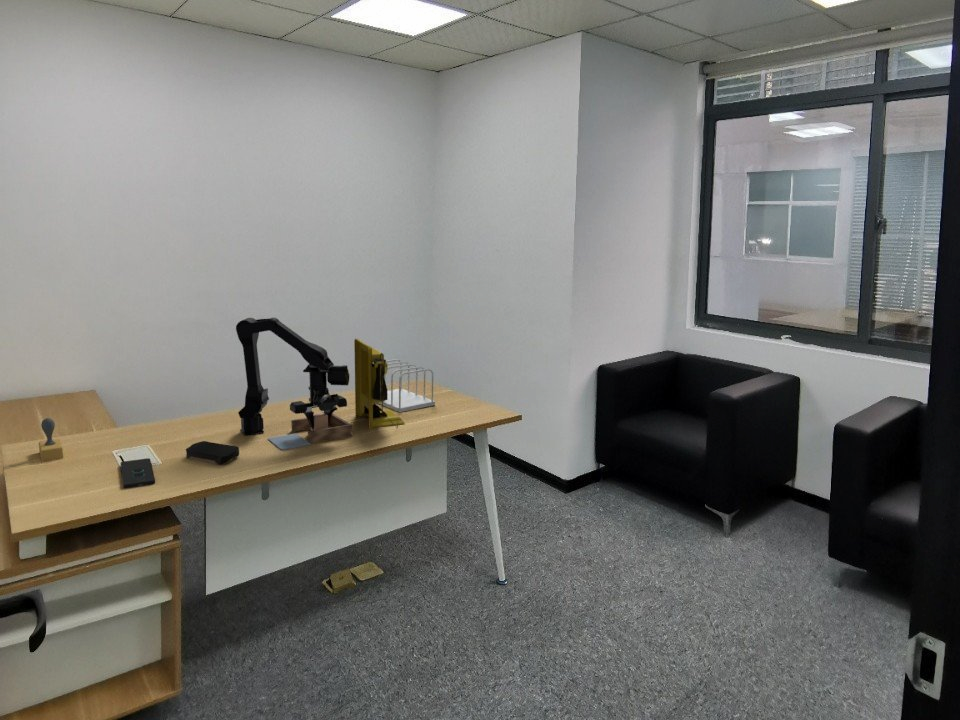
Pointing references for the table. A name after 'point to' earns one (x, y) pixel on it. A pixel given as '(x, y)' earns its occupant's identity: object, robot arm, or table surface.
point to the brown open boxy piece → (337, 431)
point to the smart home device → (137, 473)
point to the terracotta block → (320, 421)
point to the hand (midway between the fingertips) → (319, 428)
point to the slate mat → (289, 441)
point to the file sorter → (403, 398)
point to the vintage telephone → (372, 386)
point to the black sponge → (212, 452)
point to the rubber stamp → (50, 443)
